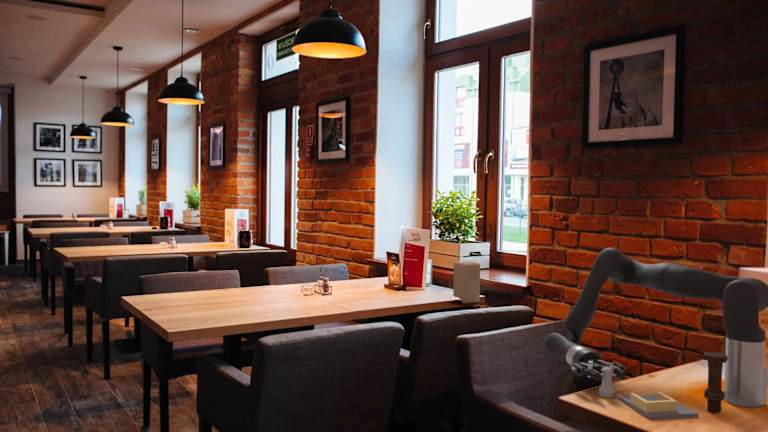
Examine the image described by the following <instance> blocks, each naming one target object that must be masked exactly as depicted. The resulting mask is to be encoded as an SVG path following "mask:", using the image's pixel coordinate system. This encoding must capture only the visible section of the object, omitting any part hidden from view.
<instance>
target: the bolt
mask: <svg viewBox="0 0 768 432" xmlns="http://www.w3.org/2000/svg"><path fill="white" fill-rule="evenodd" d="M702 357H703V360H704V361H707V367H708V368H707V388H705V389H704V390H703V391H704V392H703V397H704V398H705V399H707V403H706V405H707V407H706V409H707V412H708V413H711V414H719V413H721V411H722V401H725V400H724V398H725V393H724V391H723V390H722V388H723V387H722V386H723V385H722V381H723V364H725V362H726V361H727V359H728V356H727V355H726V353H723V352H717V351H706V352H704V353H703V356H702Z"/></svg>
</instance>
